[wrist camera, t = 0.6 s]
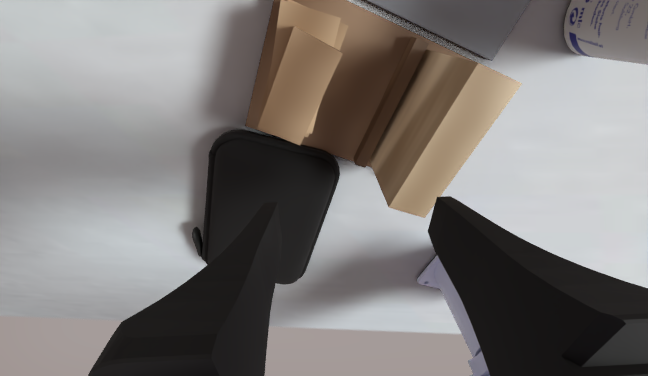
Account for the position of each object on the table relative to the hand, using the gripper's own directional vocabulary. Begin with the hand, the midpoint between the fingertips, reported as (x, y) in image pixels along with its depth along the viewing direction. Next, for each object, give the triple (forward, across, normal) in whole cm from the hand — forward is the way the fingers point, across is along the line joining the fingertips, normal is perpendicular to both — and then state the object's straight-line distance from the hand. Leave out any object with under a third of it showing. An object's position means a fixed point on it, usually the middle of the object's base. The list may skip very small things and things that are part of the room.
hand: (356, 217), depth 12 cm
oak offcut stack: (+8, +3, -5) cm, 10 cm away
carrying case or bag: (+10, +7, +6) cm, 14 cm away
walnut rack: (+10, -2, -3) cm, 10 cm away
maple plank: (+8, -5, -2) cm, 10 cm away
